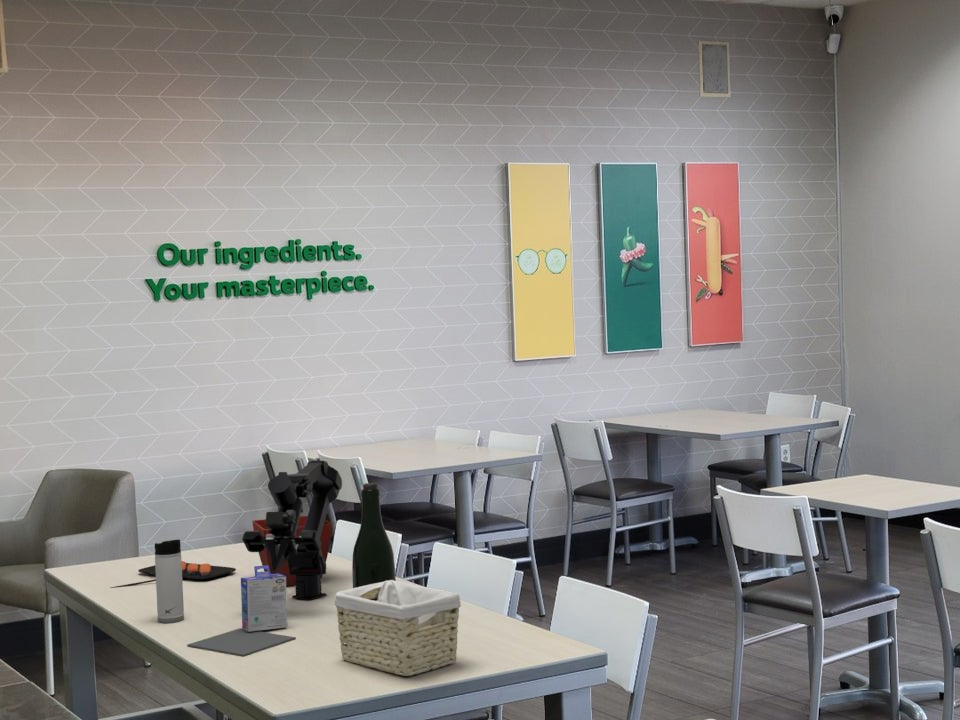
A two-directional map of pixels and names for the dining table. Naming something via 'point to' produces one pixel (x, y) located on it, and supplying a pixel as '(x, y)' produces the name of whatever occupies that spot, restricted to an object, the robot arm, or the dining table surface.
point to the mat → (241, 642)
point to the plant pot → (325, 535)
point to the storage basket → (398, 627)
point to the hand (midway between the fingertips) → (274, 570)
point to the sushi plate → (190, 572)
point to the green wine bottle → (372, 544)
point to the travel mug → (169, 581)
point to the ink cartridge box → (263, 601)
